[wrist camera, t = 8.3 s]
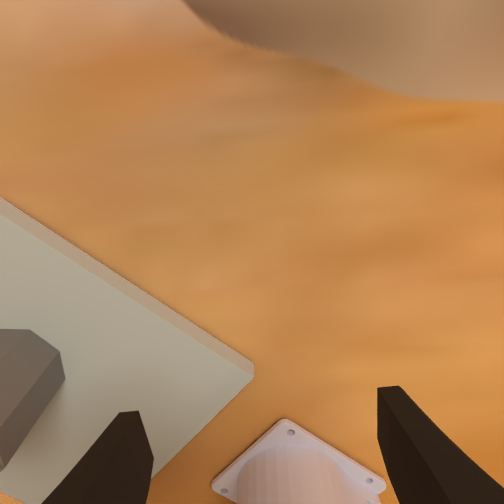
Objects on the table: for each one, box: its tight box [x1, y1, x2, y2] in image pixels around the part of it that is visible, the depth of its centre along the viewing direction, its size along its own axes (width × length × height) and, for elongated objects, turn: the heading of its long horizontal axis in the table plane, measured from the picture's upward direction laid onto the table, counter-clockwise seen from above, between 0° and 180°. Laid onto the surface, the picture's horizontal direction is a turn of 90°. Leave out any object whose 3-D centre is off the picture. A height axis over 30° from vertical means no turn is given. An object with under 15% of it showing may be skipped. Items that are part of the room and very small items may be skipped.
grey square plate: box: [0, 197, 254, 504], centre depth 21 cm, size 16×18×4 cm
